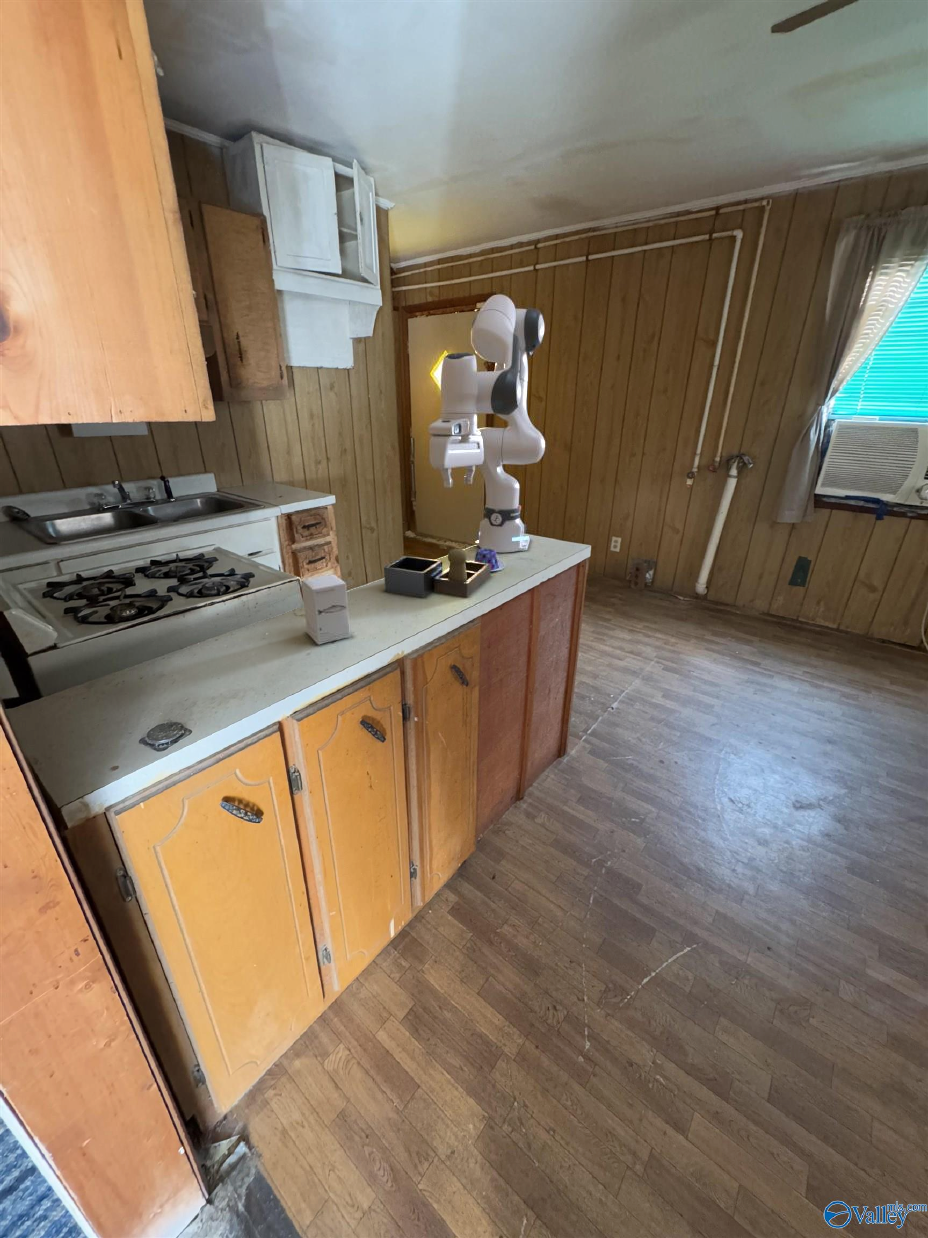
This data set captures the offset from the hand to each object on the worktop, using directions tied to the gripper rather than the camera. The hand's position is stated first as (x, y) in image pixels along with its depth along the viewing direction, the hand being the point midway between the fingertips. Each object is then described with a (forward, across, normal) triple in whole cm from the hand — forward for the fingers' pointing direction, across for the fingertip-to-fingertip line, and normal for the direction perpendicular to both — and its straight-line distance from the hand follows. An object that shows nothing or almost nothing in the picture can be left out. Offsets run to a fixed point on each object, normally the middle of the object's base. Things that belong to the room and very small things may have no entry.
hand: (458, 485), depth 127 cm
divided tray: (+27, -4, -1) cm, 28 cm away
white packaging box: (+29, +39, -9) cm, 50 cm away
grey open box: (+28, +5, -11) cm, 30 cm away
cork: (+28, 0, 0) cm, 28 cm away
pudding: (+27, -21, -3) cm, 34 cm away
